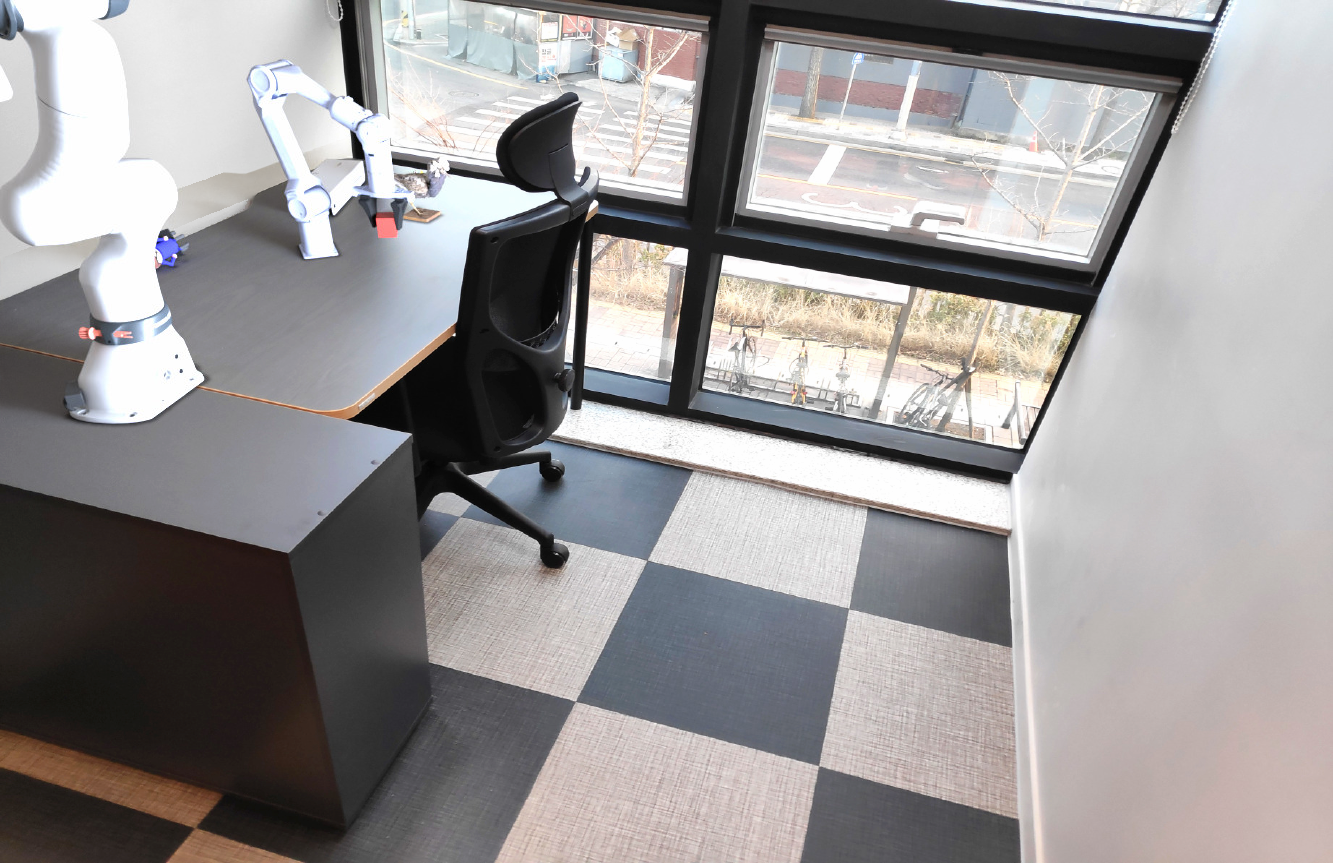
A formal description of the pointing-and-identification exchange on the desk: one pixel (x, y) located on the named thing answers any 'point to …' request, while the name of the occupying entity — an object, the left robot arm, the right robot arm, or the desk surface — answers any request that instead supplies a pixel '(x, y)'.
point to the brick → (386, 225)
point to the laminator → (340, 180)
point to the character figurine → (168, 248)
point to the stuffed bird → (424, 187)
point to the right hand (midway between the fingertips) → (387, 227)
